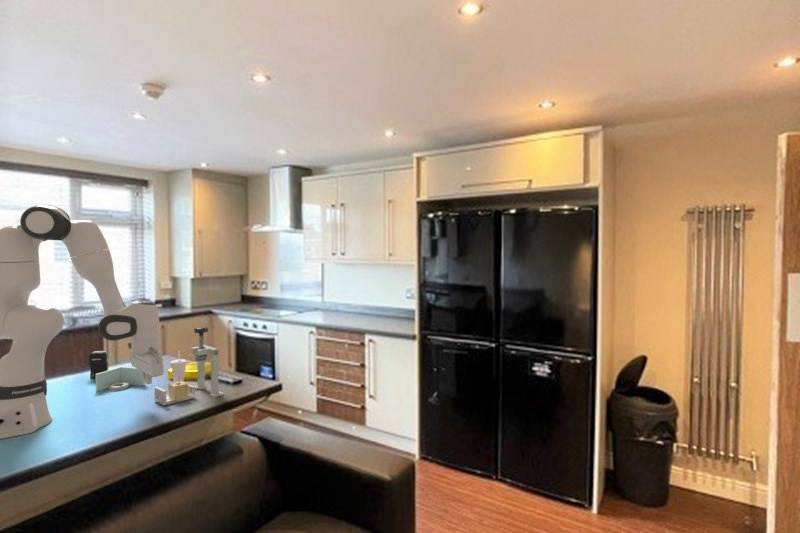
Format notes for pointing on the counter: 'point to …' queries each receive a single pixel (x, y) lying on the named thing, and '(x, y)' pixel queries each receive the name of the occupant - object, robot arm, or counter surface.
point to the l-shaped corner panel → (118, 378)
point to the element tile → (192, 371)
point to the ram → (201, 342)
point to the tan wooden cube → (178, 389)
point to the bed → (166, 399)
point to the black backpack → (98, 362)
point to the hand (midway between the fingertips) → (147, 383)
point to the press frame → (214, 369)
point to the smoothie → (178, 369)
